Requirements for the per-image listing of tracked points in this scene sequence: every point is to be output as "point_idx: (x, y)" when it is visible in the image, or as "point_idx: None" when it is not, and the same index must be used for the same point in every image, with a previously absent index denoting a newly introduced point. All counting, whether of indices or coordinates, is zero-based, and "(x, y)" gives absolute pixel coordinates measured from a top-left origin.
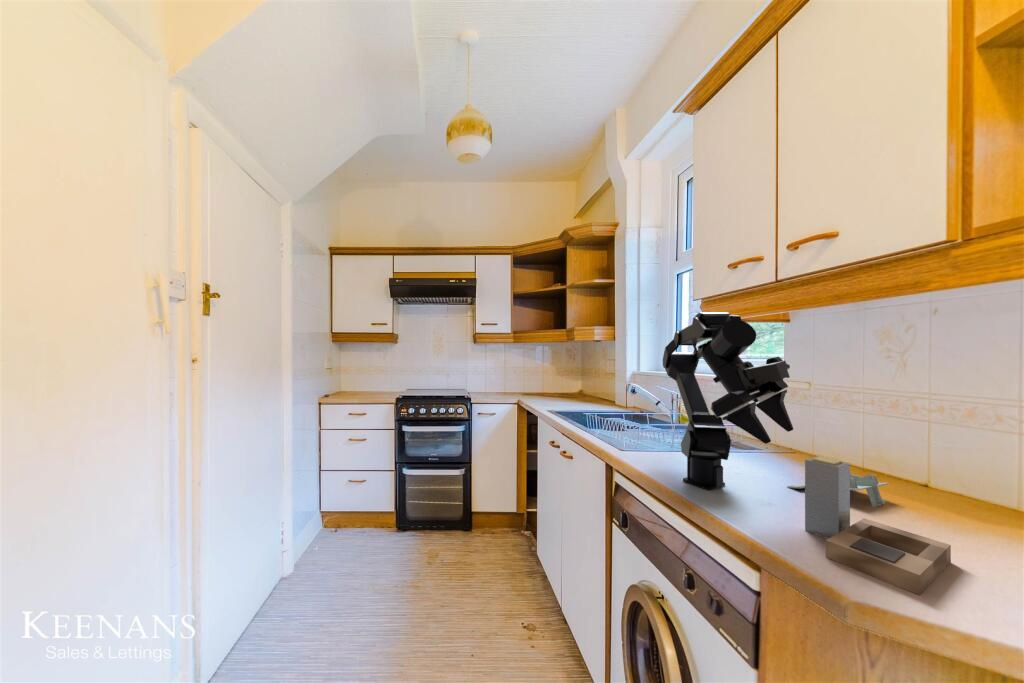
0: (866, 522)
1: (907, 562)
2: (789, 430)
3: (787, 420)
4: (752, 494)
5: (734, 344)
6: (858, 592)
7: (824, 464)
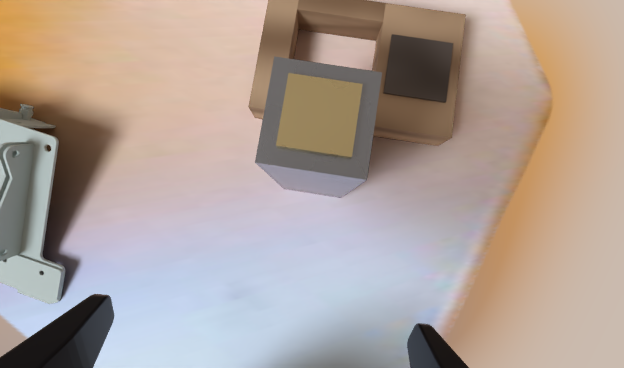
0: None
1: (429, 30)
2: (110, 311)
3: (61, 351)
4: (201, 347)
5: None
6: (520, 92)
7: (374, 115)
